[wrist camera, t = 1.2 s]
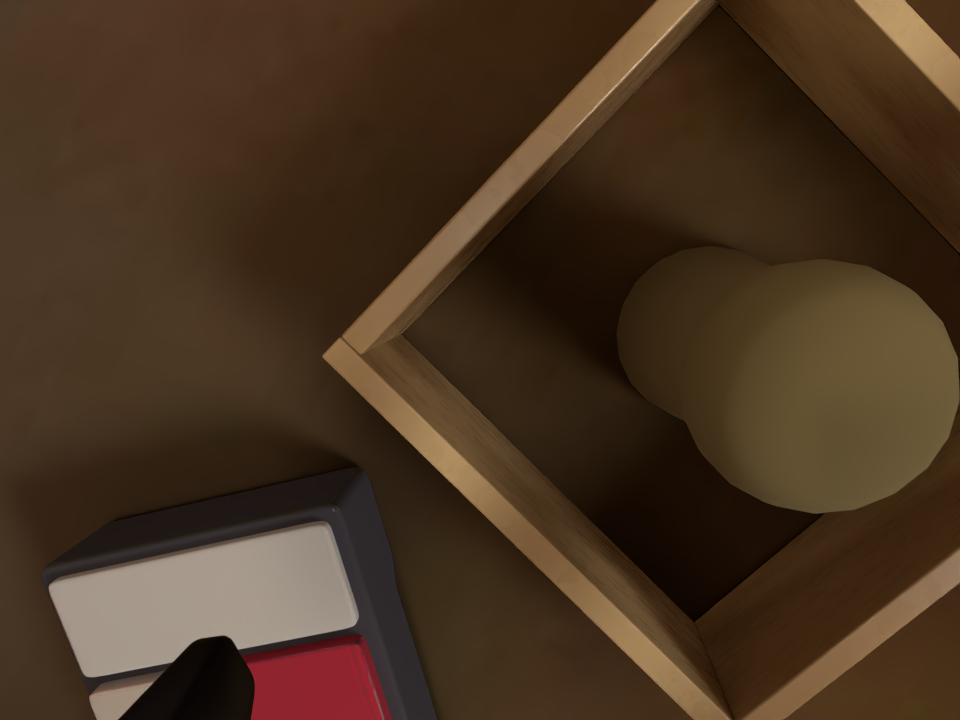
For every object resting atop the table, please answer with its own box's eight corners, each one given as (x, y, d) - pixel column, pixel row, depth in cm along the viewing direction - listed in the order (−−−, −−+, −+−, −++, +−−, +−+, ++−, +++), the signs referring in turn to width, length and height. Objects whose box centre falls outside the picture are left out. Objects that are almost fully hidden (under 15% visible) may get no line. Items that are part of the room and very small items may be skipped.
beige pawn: (734, 209, 22) (912, 164, 11) (831, 357, 23) (1091, 448, 12) (581, 312, 23) (613, 361, 12) (678, 452, 24) (789, 617, 13)
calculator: (170, 946, 25) (16, 580, 22) (224, 840, 29) (100, 523, 26) (458, 908, 23) (330, 512, 20) (470, 802, 27) (365, 462, 25)
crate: (1074, 334, 22) (1248, 360, 16) (692, 649, 25) (733, 759, 19) (720, -33, 21) (779, -133, 16) (371, 334, 24) (320, 356, 19)
